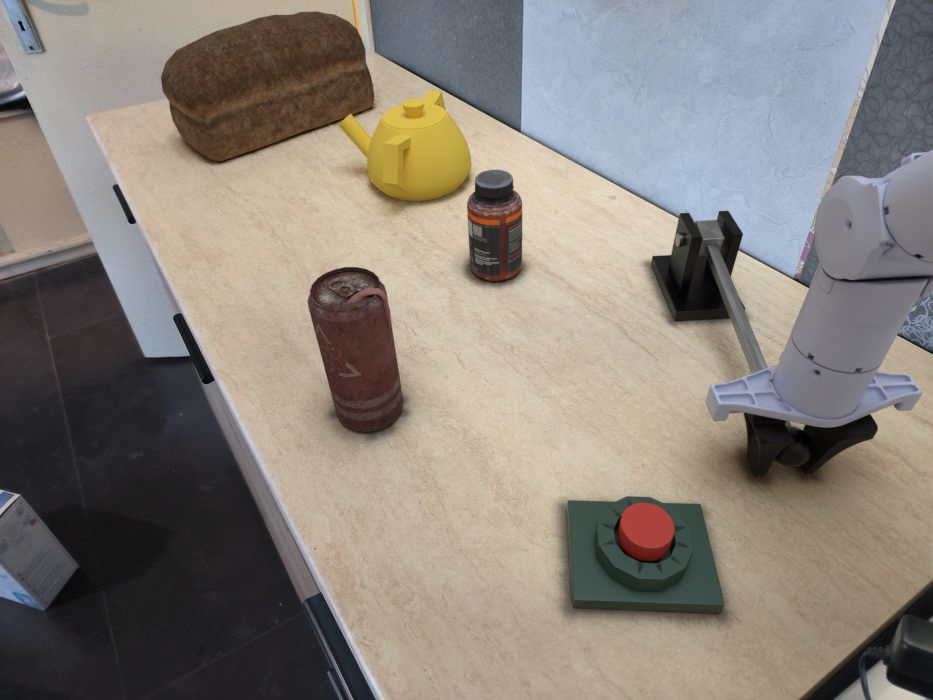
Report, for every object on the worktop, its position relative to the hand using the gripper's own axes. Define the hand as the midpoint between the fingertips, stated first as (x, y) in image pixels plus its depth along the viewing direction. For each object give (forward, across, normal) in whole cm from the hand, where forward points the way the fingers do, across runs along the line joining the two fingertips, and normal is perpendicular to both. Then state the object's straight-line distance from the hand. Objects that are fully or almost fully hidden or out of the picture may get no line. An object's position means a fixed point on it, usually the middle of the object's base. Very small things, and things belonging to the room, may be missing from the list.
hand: (778, 465), depth 53 cm
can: (0, +34, -9) cm, 35 cm away
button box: (0, +13, +8) cm, 15 cm away
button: (-3, +13, +7) cm, 15 cm away
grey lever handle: (-3, 0, -12) cm, 12 cm away
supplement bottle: (0, +21, -29) cm, 36 cm away
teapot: (+1, +32, -52) cm, 61 cm away
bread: (+1, +53, -73) cm, 90 cm away
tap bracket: (0, 0, -23) cm, 23 cm away
